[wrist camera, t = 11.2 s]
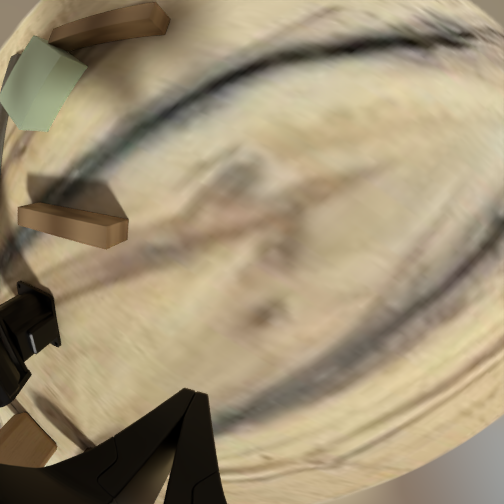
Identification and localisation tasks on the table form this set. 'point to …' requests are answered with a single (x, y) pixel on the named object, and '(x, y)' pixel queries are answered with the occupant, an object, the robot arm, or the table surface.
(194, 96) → the table surface
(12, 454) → the wooden block
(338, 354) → the table surface
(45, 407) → the table surface
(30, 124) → the sage block
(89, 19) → the set of wooden bars
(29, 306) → the robot arm
